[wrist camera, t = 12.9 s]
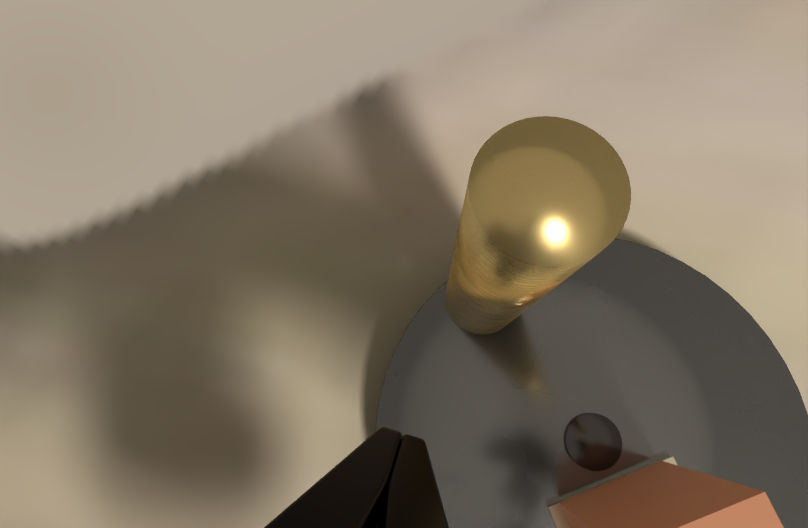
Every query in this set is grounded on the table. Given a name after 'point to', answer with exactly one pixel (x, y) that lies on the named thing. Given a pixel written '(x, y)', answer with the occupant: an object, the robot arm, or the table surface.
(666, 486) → the link block
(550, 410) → the metal plate with post
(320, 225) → the table surface
